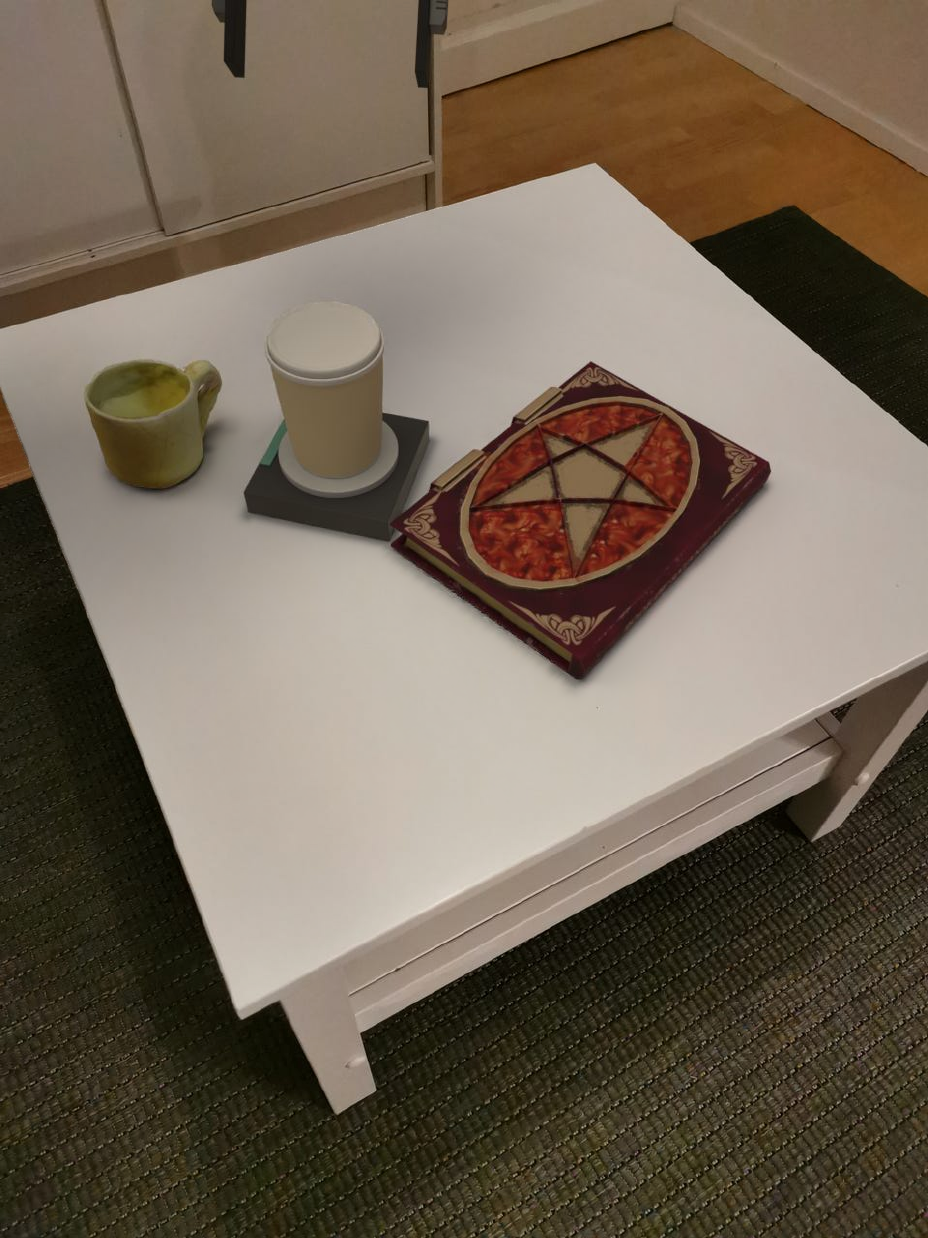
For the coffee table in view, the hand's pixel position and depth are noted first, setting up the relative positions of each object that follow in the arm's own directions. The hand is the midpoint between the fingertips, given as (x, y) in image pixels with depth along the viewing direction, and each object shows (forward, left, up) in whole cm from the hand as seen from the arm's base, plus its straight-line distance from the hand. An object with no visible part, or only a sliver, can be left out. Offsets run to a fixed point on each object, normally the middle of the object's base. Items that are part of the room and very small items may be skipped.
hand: (327, 75), depth 66 cm
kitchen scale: (+2, -11, -30) cm, 31 cm away
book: (+24, -10, -30) cm, 39 cm away
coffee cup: (+2, -11, -27) cm, 29 cm away
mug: (-14, -12, -30) cm, 35 cm away
